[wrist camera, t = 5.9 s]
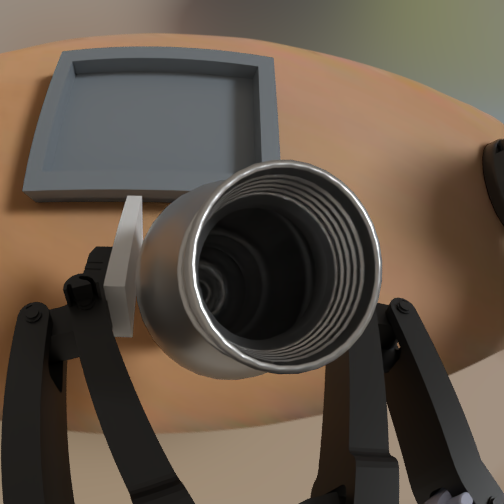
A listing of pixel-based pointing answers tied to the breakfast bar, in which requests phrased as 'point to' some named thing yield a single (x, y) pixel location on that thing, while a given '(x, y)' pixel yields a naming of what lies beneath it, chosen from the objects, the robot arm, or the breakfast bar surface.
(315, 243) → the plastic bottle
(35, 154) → the tray
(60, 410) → the robot arm
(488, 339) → the breakfast bar surface
